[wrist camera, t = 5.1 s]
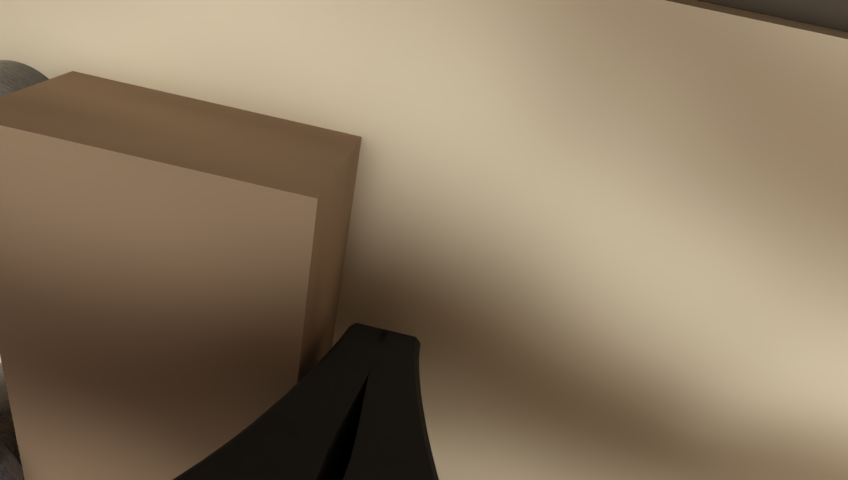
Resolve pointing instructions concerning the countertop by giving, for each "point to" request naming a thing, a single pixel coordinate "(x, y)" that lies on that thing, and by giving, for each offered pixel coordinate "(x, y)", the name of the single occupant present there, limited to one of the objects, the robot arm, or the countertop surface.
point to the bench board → (554, 210)
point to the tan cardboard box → (159, 271)
